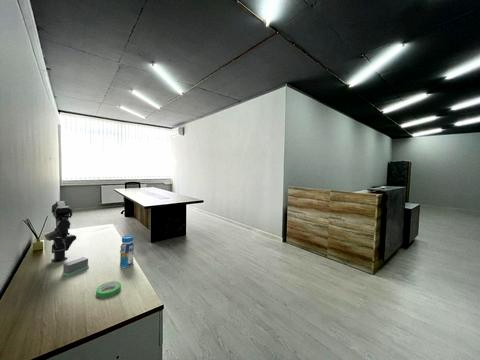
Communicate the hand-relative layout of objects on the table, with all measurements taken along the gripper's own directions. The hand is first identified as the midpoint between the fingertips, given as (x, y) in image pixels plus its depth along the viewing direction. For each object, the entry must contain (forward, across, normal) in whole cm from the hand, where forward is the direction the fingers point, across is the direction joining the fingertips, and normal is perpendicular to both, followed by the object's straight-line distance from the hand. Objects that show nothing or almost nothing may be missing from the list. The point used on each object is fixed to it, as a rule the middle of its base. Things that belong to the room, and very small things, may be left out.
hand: (62, 249), depth 127 cm
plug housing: (+10, +13, +1) cm, 17 cm away
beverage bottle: (+12, +34, +20) cm, 41 cm away
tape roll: (+12, +51, -5) cm, 53 cm away
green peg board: (+12, +13, +1) cm, 18 cm away
